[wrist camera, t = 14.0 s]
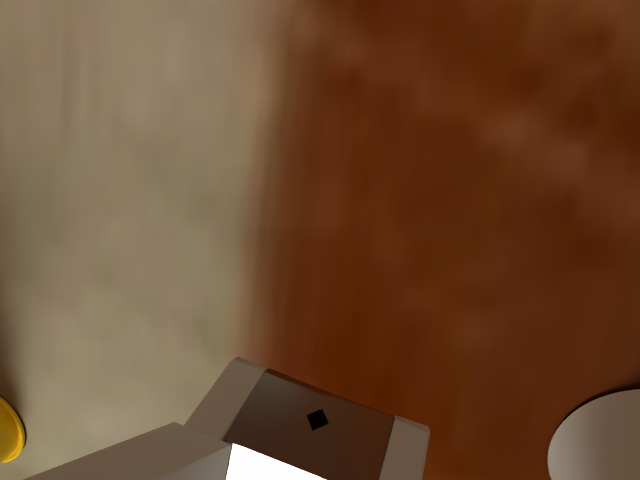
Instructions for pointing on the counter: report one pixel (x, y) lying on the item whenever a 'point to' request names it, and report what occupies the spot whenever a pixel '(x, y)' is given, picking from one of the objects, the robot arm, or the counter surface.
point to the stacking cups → (10, 433)
